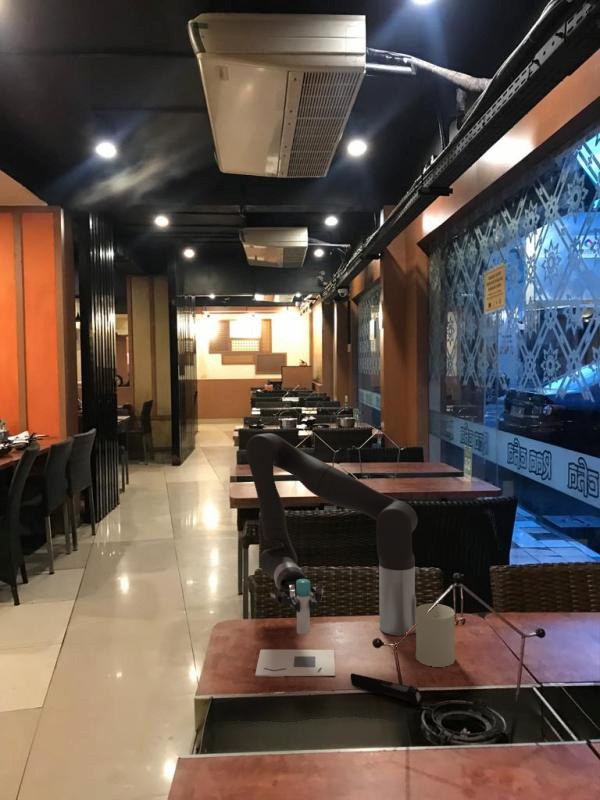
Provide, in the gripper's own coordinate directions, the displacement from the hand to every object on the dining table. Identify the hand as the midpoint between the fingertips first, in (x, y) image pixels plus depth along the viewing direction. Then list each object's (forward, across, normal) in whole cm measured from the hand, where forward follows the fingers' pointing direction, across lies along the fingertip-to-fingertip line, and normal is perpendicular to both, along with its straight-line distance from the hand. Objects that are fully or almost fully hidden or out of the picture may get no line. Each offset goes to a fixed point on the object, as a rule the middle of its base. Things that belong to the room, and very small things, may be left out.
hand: (306, 607), depth 138 cm
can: (+3, +31, +14) cm, 34 cm away
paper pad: (-3, -2, +15) cm, 15 cm away
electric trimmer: (+14, +14, +15) cm, 25 cm away
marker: (-3, 0, +7) cm, 8 cm away
